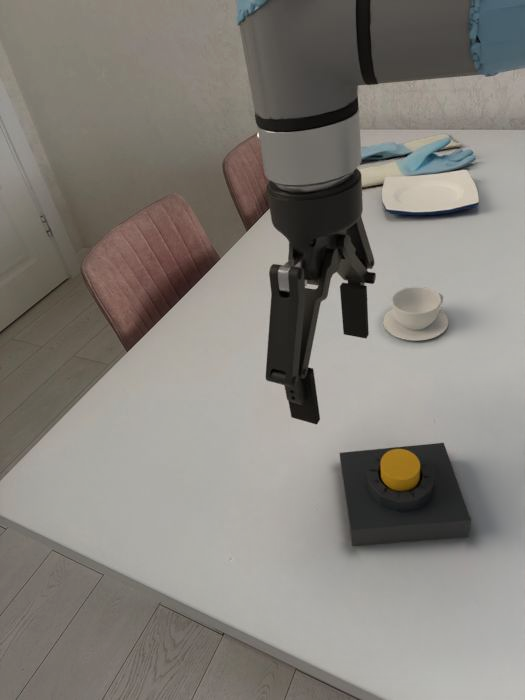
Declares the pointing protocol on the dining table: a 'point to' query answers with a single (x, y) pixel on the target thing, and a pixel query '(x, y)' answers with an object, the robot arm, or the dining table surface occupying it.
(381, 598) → the dining table surface
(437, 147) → the rubber gloves
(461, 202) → the plate
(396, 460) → the yellow button cap
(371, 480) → the yellow button cap base
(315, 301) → the robot arm
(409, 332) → the teacup
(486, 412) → the dining table surface
